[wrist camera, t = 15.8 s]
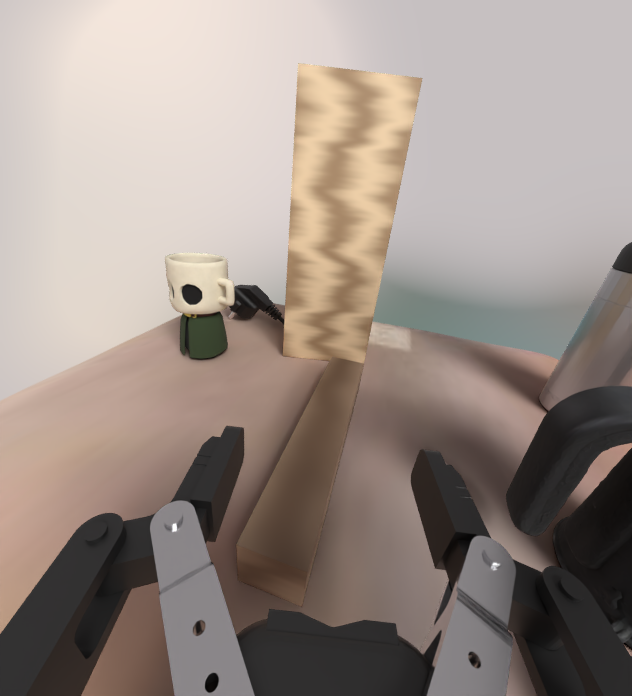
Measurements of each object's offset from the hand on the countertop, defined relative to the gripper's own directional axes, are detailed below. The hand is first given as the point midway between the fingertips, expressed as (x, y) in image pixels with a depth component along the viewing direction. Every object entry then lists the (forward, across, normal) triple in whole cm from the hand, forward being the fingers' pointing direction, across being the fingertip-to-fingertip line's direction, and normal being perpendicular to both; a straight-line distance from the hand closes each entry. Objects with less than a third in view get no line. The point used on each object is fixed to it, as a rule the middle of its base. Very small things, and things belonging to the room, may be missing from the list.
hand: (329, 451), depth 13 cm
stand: (+34, 0, +10) cm, 36 cm away
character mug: (+26, +17, +10) cm, 32 cm away
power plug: (+39, +12, +10) cm, 42 cm away
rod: (+10, 0, +10) cm, 14 cm away
